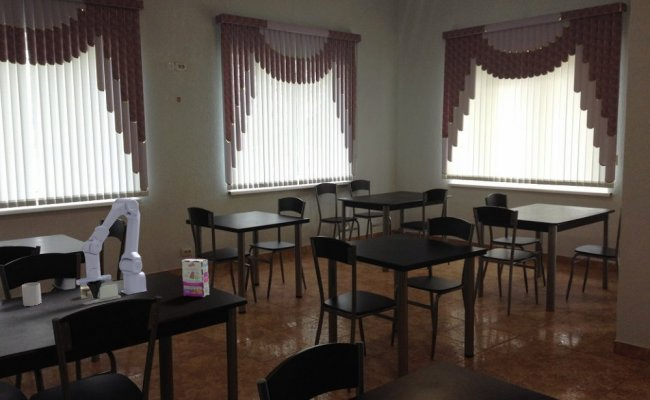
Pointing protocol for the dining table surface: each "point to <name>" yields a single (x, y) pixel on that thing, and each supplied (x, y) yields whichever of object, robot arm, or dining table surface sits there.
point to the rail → (100, 300)
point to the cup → (31, 294)
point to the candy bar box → (195, 277)
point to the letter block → (86, 292)
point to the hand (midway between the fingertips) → (95, 298)
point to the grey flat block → (108, 291)
